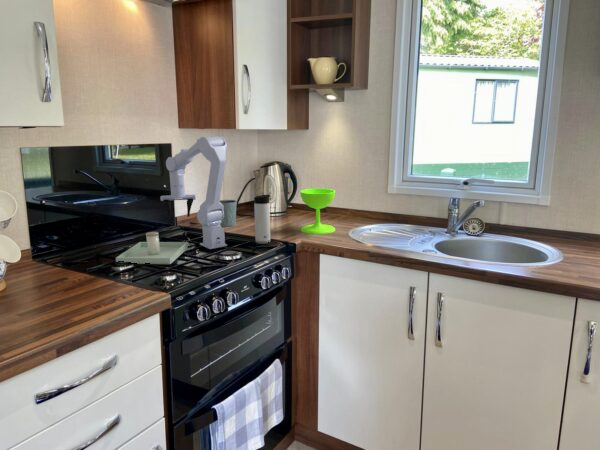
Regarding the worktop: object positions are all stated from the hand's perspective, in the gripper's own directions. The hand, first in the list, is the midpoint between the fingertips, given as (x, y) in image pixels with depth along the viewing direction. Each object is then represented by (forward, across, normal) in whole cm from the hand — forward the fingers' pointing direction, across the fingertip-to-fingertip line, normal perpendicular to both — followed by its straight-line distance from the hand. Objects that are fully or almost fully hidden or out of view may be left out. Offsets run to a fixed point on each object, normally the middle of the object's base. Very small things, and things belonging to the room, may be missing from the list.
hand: (179, 216), depth 207 cm
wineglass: (+10, -61, -4) cm, 62 cm away
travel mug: (+10, -35, +13) cm, 39 cm away
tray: (+9, +7, +26) cm, 28 cm away
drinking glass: (+10, -19, -20) cm, 30 cm away
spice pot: (+9, +7, +26) cm, 28 cm away
